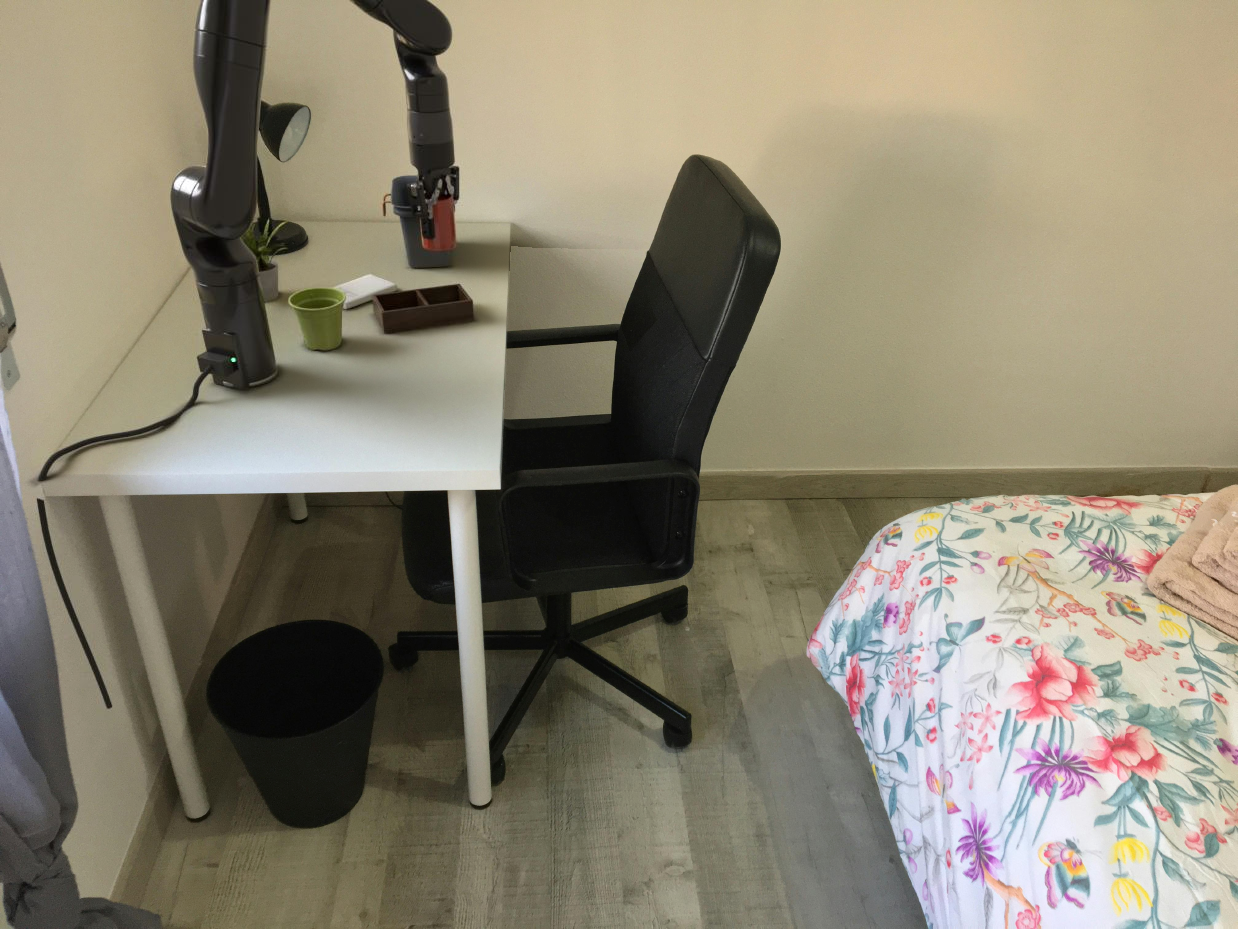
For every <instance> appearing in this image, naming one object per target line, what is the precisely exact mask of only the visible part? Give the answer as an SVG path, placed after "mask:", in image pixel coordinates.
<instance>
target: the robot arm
mask: <svg viewBox="0 0 1238 929" xmlns="http://www.w3.org/2000/svg"><path fill="white" fill-rule="evenodd" d="M348 1H349V2H350V3H351V4H353V5H354V6H356V7H357V8H358V9H359V10H360V11H362V12H363V13H364V14H366V15H367V16H368V17H370V18H372V19H373V20H376V21H377V22H380V23H382V24H384V25H386V26H387V27H389V28H390V29H392V36H393V42H394V48H395V51H396V55H397V60H398V62H399V66H400V69H401V72H402V75H403V79H404V89H405V91H404V92H405V100H406V129H407V139H408V150H409V160H410V161H409V162H410V164H411V166H412V167H414V168H415V169H416V171H417V174H416V175H417V181H416V182H415V183H408V185H407V190H408V196H409V201H410V207H411V213H412V216H413V217H419V218H420V220H421V230H422V237H423V238H424V239H430V240H432V239H434V238H435V228H434V218H433V214H434V206H436V205H437V201H438V198H439V197H446V198H447V199H448V198H449V197H450V194H451V193H452V194H453V198H454V205H455V206H456V204H455V200H457V201H459V200H460V167H459V165H454V164H455V162H456V158H455V157H456V156H455V141H454V124H453V118H452V114H451V106H450V105H451V104H450V102H451V101H450V91H449V81H448V78H447V75H446V73H445V72H443V70H442V69H441V68H440V67H439V64H438V60H437V56H441V55H443V54H444V53H445V52H446V51H447V50H448V49H449V48H450V46H451V44H452V42H453V28H452V25H451V23H450V21H449V19H448V17H447V16H446V14H445V13H444V12H443V11H442V10H441V9H440V8H438V7H437V6H436V5H435V4H434V3H432V2H431V1H430V0H348ZM271 2H272V0H200V2H199V5H198V10H197V15H196V20H195V26H194V35H193V36H194V38H193V49H192V51H193V52H192V71H193V77H194V82H195V86H196V90H197V95H198V98H199V102H200V104H201V105H200V106H201V108H202V112H203V115H204V119H205V124H206V130H207V152H206V161H205V165H191V166H188V167H185V168H183V169H182V170H180V171H179V172H178V173H177V175H175V177H174V178H173V181H172V183H171V187H170V192H169V200H170V201H169V202H170V207H171V213H172V218H173V221H174V225H175V228H176V231H177V232H176V233H177V235H178V239H179V242H180V246H181V250H182V253H183V255H184V258H185V260H186V262H187V263H188V265H189V266H190V268H191V270H192V273H193V276H194V281H195V285H196V289H197V293H198V298H199V302H200V303H199V304H200V306H201V311H202V316H203V320H204V324H205V327H204V328H202V329H201V333H202V338H203V342H204V347H205V351H203V352H202V353H200V354H198V355H196V360H197V365H198V369H199V372H200V374H199V376H198V377H197V379H196V380H195V382H194V384H193V387H192V395H191V397H190V398H189V400H188V401H187V402H186V404H185V405H184V406H183V407H182V408H181V409H180V410H179V411H178V412H177V413H175V414H173V415H172V416H169V417H166V418H164V419H162V420H159V421H157V422H154V423H152V424H150V425H147V426H144V427H141V428H136V429H132V430H126V431H121V432H115V433H114V432H113V433H108V434H102V435H98V436H93V437H90V438H86V439H83V440H80V441H77V442H75V443H73V444H70V445H68V446H66V447H64V448H62V449H59V450H57V451H56V452H54V453H53V454H51V455H50V457H48V459H47V460H46V461H45V462H44V464H43V466H42V468H41V470H40V472H39V474H38V477H37V480H36V481H37V482H43V481H45V480H46V478H47V475H48V473H49V472H50V469H51V468H52V466H53V464H54V463H55V462H56V461H58V460H59V459H60V458H61V457H63V456H65V455H68V454H69V453H71V452H74V451H76V450H79V449H80V448H84V447H86V446H89V445H93V444H96V443H100V442H106V441H111V440H118V439H122V438H123V439H124V438H130V437H135V436H139V435H142V434H146V433H149V432H151V431H154V430H157V429H159V428H161V427H164V426H166V425H168V424H171V423H173V422H174V421H176V420H178V418H180V417H181V416H182V415H183V414H184V413H185V412H186V411H187V410H189V409H190V408H191V407H193V406H194V404H195V403H196V401H197V400H198V398H199V394H200V387H201V385H202V383H203V382H204V380H205V379H206V378H207V377H208V376H209V375H211V376H212V377H211V378H212V381H213V383H214V384H217V385H221V386H224V387H229V388H233V389H237V390H240V391H246V390H248V389H250V388H253V387H258V386H261V385H264V384H266V383H269V382H271V381H272V380H273V379H275V378H276V377H277V376H278V374H279V368H278V364H277V360H276V356H275V349H274V344H273V340H272V334H271V329H270V324H269V319H268V312H267V308H266V303H265V302H266V301H264V297H263V292H262V286H261V281H260V275H259V269H258V264H257V260H256V257H255V255H254V254H253V253H252V252H251V251H250V249H249V248H248V247H247V246H246V245H245V244H244V242H243V241H242V239H241V236H242V237H244V236H245V235H244V234H245V233H246V232H247V231H248V230H249V228H250V229H251V228H252V223H253V224H254V221H255V218H256V214H257V210H258V209H257V207H258V138H259V129H260V118H261V106H262V105H261V103H262V92H263V85H264V80H265V79H264V78H265V69H266V61H267V60H266V59H267V51H268V50H267V48H268V38H269V23H270V12H271V4H272V3H271ZM452 186H453V187H454V192H453V189H452ZM425 196H426V197H427V198H432V199H431V200H427V199H425ZM426 204H428V205H429V208H428V211H427V207H426ZM417 205H418V206H419V207H418V210H417ZM36 504H37V510H38V518H39V522H40V523H39V524H40V528H41V534H42V537H43V542H44V547H45V550H46V553H47V558H48V562H49V564H50V567H51V570H52V574H53V576H54V579H55V582H56V585H57V588H58V591H59V594H60V596H61V599H62V601H63V603H64V606H65V609H66V612H67V614H68V616H69V619H70V622H71V623H72V625H73V628H74V630H75V632H76V633H75V634H76V635H77V637H78V640H79V642H80V644H81V647H82V649H83V651H84V654H85V656H86V659H87V661H88V663H89V666H90V668H91V670H92V673H93V675H94V678H95V680H96V683H97V685H98V689H99V691H100V693H101V696H102V699H103V702H104V705H105V707H106V709H107V710H109V709H112V708H113V703H112V701H111V697H110V695H109V693H108V689H107V687H106V684H105V682H104V678H103V677H102V673H101V672H100V669H99V666H98V663H97V661H96V658H95V656H94V654H93V652H92V650H91V647H90V645H89V643H88V639H87V638H86V635H85V633H84V630H83V627H82V625H81V623H80V621H79V618H78V616H77V614H76V610H75V609H74V606H73V603H72V600H71V599H70V598H71V597H70V596H69V593H68V590H67V588H66V585H65V582H64V580H63V577H62V573H61V570H60V567H59V564H58V561H57V557H56V554H55V550H54V547H53V546H54V545H53V542H52V538H51V533H50V529H49V528H50V527H49V522H48V517H47V510H46V505H45V500H44V499H42V498H38V497H37V498H36Z"/></svg>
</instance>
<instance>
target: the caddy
mask: <svg viewBox="0 0 1238 929" xmlns="http://www.w3.org/2000/svg"><path fill="white" fill-rule="evenodd" d="M371 301H372V309H373V315H374V317H375V320H376V321H377V323H378V325H379V326H380V328H381V330H382V332H383V333H384V334H392V333H397V332H398V333H399V332H405V331H406V332H407V331H410V330H412V331H413V330H419V329H425V328H426V329H427V328H433V327H441V326H446V325H453V324H460V323H467V322H472V321H475V315H474V314H475V313H474V299H472V297H471V296H470V295H469V293H468V292H467V291H466V290H465V288H464V287H463V286H462V285H461V283H454V284H446V285H438V286H430V287H422V288H415V289H407V290H400V291H394V292H391V293H383V294H375V295H372V300H371Z"/></svg>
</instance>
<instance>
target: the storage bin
mask: <svg viewBox="0 0 1238 929" xmlns="http://www.w3.org/2000/svg"><path fill="white" fill-rule="evenodd" d="M417 175H418V174H412V175H400V176H396V177H394V178H393V179H392V180H391V189H390V193H385V194H384V195H383V198H382V204H381V205H382V216H383V217H386V215H387V205H386V204H390V205H392V213H393V214H394V215H395V216H398V217H399V222H400V226H401V231H402V236H403V242H404V248H405V254H406V260H407V263H408V266H409V267H410V268H413V269H417V268H419V269H420V268H421V269H422V268H447V267H448V266H450V265H451V249H450V250H446V251H431V250H427V249H425V248H424V247H423V243H422V236H421V224H420V218H419V217H413V216H412V213H411V207H410V201H409V196H408V190H407V185H408V183H415V182H416V181H417ZM452 189H453V192H454V187H453V186H452ZM388 196H389V197H390V200H386V198H387V197H388ZM457 204H458V200H455V205H454V213H455V214H456V205H457ZM418 207H419V206H418V205H417V210H418Z"/></svg>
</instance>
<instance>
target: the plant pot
mask: <svg viewBox="0 0 1238 929" xmlns="http://www.w3.org/2000/svg"><path fill="white" fill-rule="evenodd" d="M345 300H346V295H345V293H344V292H342V291H340V290H338V289H334V288H333V287H325V286H324V287H323V286H322V287H318V286H317V287H309V288H304V289H301V290H298V291H296V292H294V293H293V294H291V295H290V296H289V297H288V305H289V306H290V307H291V308H292V310H293V312H294V313H295V315H296V319H297V321H298V322H297V323H298V325H299V328H300V331H301V334H302V338H303V340H304V345H305V346H306V347H307V348H308V349H310V350H313V351H316V350H321V351H330V350H334V349H337V348H338V347H339V346H340V345H341V343H342V342H343V306H344V302H345Z"/></svg>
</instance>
